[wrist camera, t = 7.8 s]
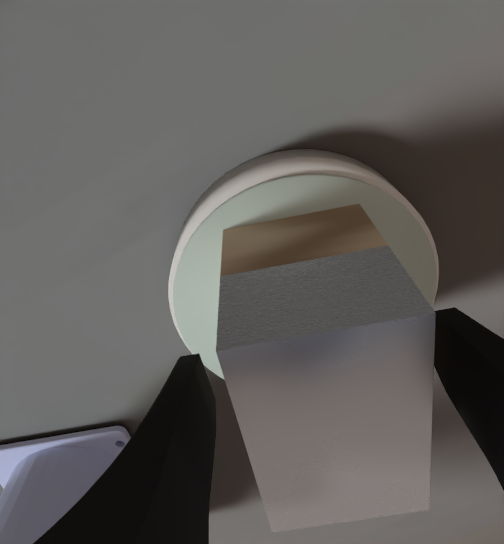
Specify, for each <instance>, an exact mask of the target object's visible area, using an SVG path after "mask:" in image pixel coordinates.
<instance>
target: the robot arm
mask: <svg viewBox="0 0 504 544" xmlns="http://www.w3.org/2000/svg"><path fill="white" fill-rule="evenodd" d="M435 313H436V317H435V347H434V366H435V368H436V371H437V373H438V375H439V378H440V380H441V382H442V384H443V386H444V388H445V391H446V393H447V394H448V396H449V398H450V399H451V401H452V403H453V404H454V406H455V408H456V409H457V411H458V412H459V414H460V416H461V417H462V419H463V421H464V422H465V424H466V425H467V427H468V429H469V430H470V432H471V434H472V435H473V437H474V438H475V440H476V442H477V443H478V445H479V447H480V448H481V450H482V451H483V453H484V455H485V456H486V458H487V460H488V461H489V463H490V465H491V467H492V468H493V470H494V472H495V474H496V476H497V478H498V480H499V482H500V484H501V486H502V488H503V490H504V339H503V338H501V337H500V336H498V335H496V334H495V333H493V332H492V331H490V330H489V329H487V328H485V327H484V326H482V325H481V324H479V323H478V322H476V321H475V320H473V319H472V318H470V317H469V316H467V315H466V314H464V313H463V312H461V311H459V310H458V309H456V308H449V309H444V310H438V311H435ZM215 437H216V406H215V397H214V394H213V391H212V388H211V386H210V383H209V380H208V377H207V374H206V371H205V368H204V365H203V363H202V360H201V357H200V354H199V353H198V354H193V355H187V356H182V357H180V358H179V359H178V361H177V363H176V365H175V366H174V368H173V370H172V372H171V374H170V376H169V377H168V379H167V381H166V383H165V385H164V386H163V388H162V390H161V392H160V393H159V395H158V397H157V398H156V400H155V402H154V403H153V405H152V407H151V408H150V410H149V412H148V413H147V415H146V416H145V418H144V419H143V421H142V422H141V424H140V425H139V427H138V428H137V430H136V431H135V433H134V434H133V436H132V437H130V435H129V433H128V431H127V430H126V429H125V428H124V427H122V426H111V427H106V428H100V429H94V430H88V431H82V432H76V433H70V434H64V435H58V436H52V437H47V438H41V439H35V440H29V441H23V442H17V443H11V444H5V445H0V485H1V486H2V487H3V488H4V490H3V492H2V494H1V496H0V544H209V501H210V490H211V480H212V470H213V459H214V448H215Z"/></svg>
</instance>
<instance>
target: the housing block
mask: <svg viewBox="0 0 504 544" xmlns="http://www.w3.org/2000/svg"><path fill="white" fill-rule="evenodd" d="M435 317H436V313H435V311H434V310H433V308H432V307H431V306H430V304H429V303H428V301H427V300H426V298H425V297H424V296H423V294H422V293H421V291H420V290H419V288H418V287H417V286H416V284H415V283H414V281H413V280H412V278H411V277H410V275H409V274H408V273H407V271H406V270H405V268H404V267H403V265H402V264H401V263H400V261H399V260H398V258H397V257H396V255H395V254H394V253H393V251H392V250H391V248H390V247H389V245H388V244H387V242H386V241H385V240H384V238H383V237H382V235H381V234H380V232H379V231H378V230H377V228H376V227H375V225H374V224H373V222H372V221H371V220H370V218H369V217H368V215H367V214H366V212H365V211H364V209H363V208H362V207H361V205H360V204H355V205H349V206H344V207H339V208H334V209H329V210H324V211H318V212H313V213H308V214H303V215H298V216H292V217H287V218H282V219H277V220H272V221H267V222H261V223H256V224H251V225H246V226H241V227H235V228H230V229H225V230H223V237H222V254H221V271H220V288H219V306H218V323H217V340H216V353H217V356H218V360H219V363H220V366H221V369H222V373H223V376H224V379H225V382H226V385H227V389H228V392H229V395H230V398H231V402H232V405H233V408H234V411H235V414H236V418H237V421H238V424H239V427H240V430H241V434H242V437H243V440H244V443H245V447H246V450H247V453H248V456H249V459H250V463H251V466H252V469H253V472H254V476H255V479H256V482H257V485H258V488H259V492H260V495H261V498H262V501H263V504H264V508H265V511H266V514H267V517H268V521H269V524H270V527H271V530H272V532H279V531H286V530H293V529H300V528H307V527H314V526H321V525H328V524H335V523H342V522H349V521H356V520H363V519H370V518H377V517H384V516H391V515H398V514H405V513H412V512H419V511H426V510H429V493H430V464H431V434H432V405H433V376H434V347H435Z"/></svg>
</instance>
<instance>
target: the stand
mask: <svg viewBox="0 0 504 544" xmlns="http://www.w3.org/2000/svg"><path fill="white" fill-rule="evenodd" d="M355 204H360V205H361V207H362V208H363V209H364V211H365V212H366V214H367V215H368V217H369V218H370V220H371V221H372V222H373V224H374V225H375V227H376V228H377V230H378V231H379V232H380V234H381V235H382V237H383V238H384V240H385V241H386V242H387V244H388V245H389V247H390V248H391V250H392V251H393V253H394V254H395V255H396V257H397V258H398V260H399V261H400V263H401V264H402V265H403V267H404V268H405V270H406V271H407V273H408V274H409V275H410V277H411V278H412V280H413V281H414V283H415V284H416V286H417V287H418V288H419V290H420V291H421V293H422V294H423V296H424V297H425V298H426V300H427V301H428V303H429V304H430V306H431V307H432V306H433V304H434V300H435V297H436V293H437V289H438V279H439V263H438V255H437V251H436V246H435V243H434V240H433V238H432V235H431V233H430V230H429V228H428V227H427V225H426V223H425V222H424V220H423V218H422V217H421V215H420V214H419V213H418V212H417V210H416V209H415V208H414V207H413V206H412V205H411V203H410V202H409V201H408V200H407V199H406V198H405V197H404V196H403V195H402V194H401V193H400V192H399V191H398V190H397V189H396V188H395V187H394V186H393V185H392V184H391V183H390V182H389V181H388V180H387V179H385V178H384V177H383V176H382V175H381V174H380V173H378V172H377V171H376V170H374V169H372V168H371V167H369V166H368V165H366V164H364V163H363V162H360V161H358V160H356V159H353V158H351V157H349V156H346V155H342V154H338V153H335V152H331V151H324V150H316V149H293V150H286V151H279V152H274V153H270V154H267V155H263V156H260V157H257V158H255V159H252V160H250V161H248V162H245V163H243V164H241V165H239V166H237V167H236V168H234V169H232V170H231V171H229V172H227V173H226V174H225V175H223V176H222V177H221V178H219V179H218V180H217V181H216V182H214V183H213V184H212V185H211V186H210V187H209V188H208V189H207V190H206V191H205V192H204V193H203V194H202V195H201V197H200V198H199V199H198V201H197V202H196V203H195V205H194V206H193V208H192V209H191V211H190V213H189V215H188V216H187V218H186V220H185V222H184V224H183V227H182V230H181V233H180V236H179V239H178V243H177V247H176V250H175V254H174V258H173V262H172V266H171V271H170V276H169V290H168V296H169V304H170V311H171V314H172V318H173V321H174V324H175V326H176V328H177V331H178V333H179V335H180V337H181V338H182V340H183V342H184V343H185V345H186V346H187V348H188V349H189V350H190V351H191V352H192V354H198V353H199V354H200V357H201V360H202V363H203V364H204V365H205V366H206V367H207V368H208V369H209V370H211V371H212V372H213V373H215V374H216V375H218V376H219V377H221V378H222V379H224V376H223V373H222V369H221V366H220V363H219V360H218V356H217V353H216V340H217V323H218V306H219V288H220V271H221V254H222V237H223V230H225V229H230V228H235V227H241V226H246V225H251V224H256V223H261V222H267V221H272V220H277V219H282V218H287V217H292V216H298V215H303V214H308V213H313V212H318V211H324V210H329V209H334V208H339V207H344V206H349V205H355ZM224 380H225V379H224Z"/></svg>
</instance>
